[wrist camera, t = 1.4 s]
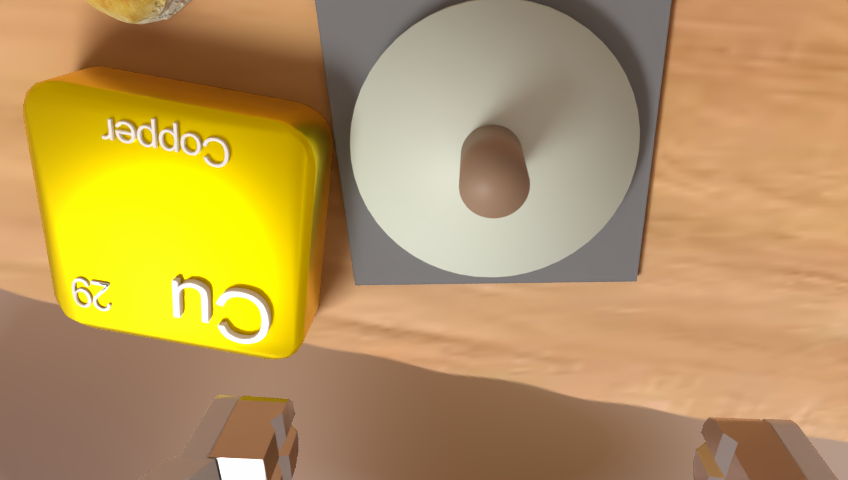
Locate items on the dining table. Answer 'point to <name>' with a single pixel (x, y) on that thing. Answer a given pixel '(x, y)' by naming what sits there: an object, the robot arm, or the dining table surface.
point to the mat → (409, 3)
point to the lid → (494, 137)
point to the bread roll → (139, 9)
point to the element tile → (181, 208)
